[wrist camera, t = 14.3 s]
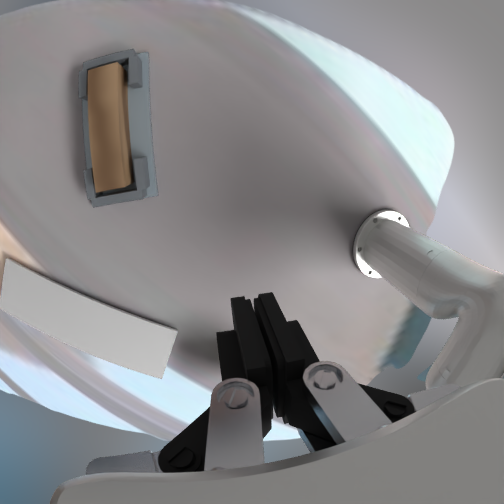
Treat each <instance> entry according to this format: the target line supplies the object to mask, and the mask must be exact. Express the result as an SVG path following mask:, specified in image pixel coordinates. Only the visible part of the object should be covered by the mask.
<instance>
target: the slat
mask: <svg viewBox="0 0 504 504" xmlns="http://www.w3.org/2000/svg"><path fill="white" fill-rule="evenodd" d="M88 123H89V138H90V150H91V160H92V169H93V177H94V184H95V191H96V193H97V192H102V191H107V190H112V189H117V188H123V187H126V186H128V185H130V184H132V183H134V182H135V181H134V173H133V164H132V154H131V143H130V130H129V114H128V81H127V71H126V70H125V69H124V68H123V67H122V66H121V65H120V64H119V63H118V62H116V63H112V64H108V65H105V66H101V67H98V68H94V69H91V70H88Z"/></svg>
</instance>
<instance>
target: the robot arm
mask: <svg viewBox="0 0 504 504" xmlns="http://www.w3.org/2000/svg"><path fill="white" fill-rule="evenodd" d="M353 256H354V260H355V263H356V265H357V267H358V268H359V270H360V271H361V272H363V273H364V274H365V275H367V276H368V277H372V278H380V277H382V278H384V279H385V280H386V281H387V282H389V283H390V284H391V285H392V286H393V287H395V288H396V289H397V290H398V291H400V292H401V293H402V294H403V295H404V296H405V297H407V298H408V299H409V300H410V301H411V302H413V303H414V304H415V305H416V306H417V307H418V308H420V309H421V310H422V311H423V312H424V313H425V314H427V315H428V316H430V317H432V318H435V319H451V318H456V317H459V319H458V322H457V324H456V326H455V328H454V330H453V332H452V334H451V336H450V337H449V339H448V341H447V342H446V344H445V346H444V347H443V349H442V350H441V352H440V354H439V355H438V357H437V358H436V360H435V361H434V363H433V365H432V366H431V368H430V370H429V372H428V374H427V377H426V389H427V390H424V391H420V392H416V393H412V394H409V396H408V397H404V396H402V395H398V394H395V393H391V392H387V391H383V390H380V389H376V388H372V387H369V386H365V385H362V384H358V383H357V382H356V381H355V380H354V379H353V378H352V377H351V375H350V374H349V373H348V372H347V371H346V370H345V369H344V368H343V367H342V366H341V365H339V364H337V363H335V362H330V361H319V359H318V357H317V355H316V353H315V352H314V350H313V348H312V346H311V344H310V342H309V341H308V339H307V337H306V335H305V333H304V331H303V330H302V328H301V326H300V324H299V322H298V321H297V320H294V321H288V322H287V321H286V319H285V317H284V315H283V313H282V311H281V309H280V307H279V305H278V303H277V301H276V299H275V297H274V294H273V293H272V292H271V293H264V294H259V295H258V298H254V309H253V306H252V303H251V300H250V299H247V300H245V297H244V296H243V297H235V298H231V307H232V316H233V324H234V330H231V331H224V332H216V334H217V343H218V352H219V360H220V368H221V376H222V382H220V383H219V384H218V385H216V387H215V388H214V389H213V392H212V395H211V404H210V407H209V408H208V409H207V410H206V411H205V412H204V413H202V414H201V415H200V416H199V417H198V418H197V419H196V420H195V421H194V422H192V423H191V424H190V425H189V426H188V427H187V428H186V429H184V430H183V431H182V432H181V433H180V434H179V435H177V436H176V437H175V438H174V439H173V440H172V441H170V442H169V443H168V444H167V445H166V446H164V448H163V449H162V450H161V451H158V452H153V453H152V452H151V451H150V450H149V451H144V452H138V453H133V454H125V455H118V456H109V457H100V458H96V459H94V460H92V461H91V462H90V463H89V464H88V466H87V468H86V475H85V476H81V477H77V478H74V479H71V480H68V481H66V482H64V483H62V484H61V485H60V486H59V487H58V488H57V489H56V490H55V492H54V494H53V496H52V498H51V500H50V504H504V376H503V378H501V376H502V375H503V373H504V274H503V273H500V272H498V271H495V270H492V269H490V268H488V267H485V266H483V265H481V264H479V263H477V262H475V261H473V260H471V259H469V258H467V257H465V256H463V255H461V254H460V253H458V252H456V251H454V250H452V249H450V248H448V247H446V246H445V245H443V244H441V243H439V242H437V241H435V240H433V239H431V238H429V237H427V236H425V235H424V234H421V233H419V232H417V231H415V230H413V229H411V228H409V225H408V223H407V221H406V219H405V218H404V217H403V216H402V215H401V214H400V213H398V212H396V211H393V210H381V211H377V212H376V213H374V214H372V215H371V216H370V217H368V218H367V219H366V220H365V221H364V223H363V224H362V225H361V227H360V228H359V230H358V232H357V235H356V237H355V241H354V247H353ZM273 407H274V410H275V413H276V416H277V418H278V417H282V418H283V421H284V424H286V423H289V425H291V426H294V427H296V428H298V429H297V430H298V432H299V435H300V436H301V438H302V440H303V441H304V443H305V445H306V446H307V448H308V450H309V451H310V453H309V454H305V455H302V456H298V457H294V458H289V459H285V460H281V461H276V462H271V463H265V464H264V448H263V438H264V437H265V436H266V435H267V433H268V432H269V431H270V430H271V419H273Z"/></svg>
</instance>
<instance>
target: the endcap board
mask: <svg viewBox="0 0 504 504" xmlns="http://www.w3.org/2000/svg"><path fill="white" fill-rule="evenodd" d="M116 62H118V63H119V64H120V65H121V66H122V67H123V68H124V69H125V70H126V71H127V81H128V114H129V130H130V143H131V154H132V164H133V173H134V181H135V182H134V183H132V184H130V185H128V186H126V187H123V188H117V189H112V190H107V191H102V192H97V193H96V191H95V184H94V177H93V169H92V160H91V150H90V138H89V123H88V70H91V69H94V68H98V67H101V66H105V65H108V64H112V63H116ZM79 98H81V99H82V114H83V133H84V146H85V157H86V166H87V169H86V170H83V171H84V179H85V186H86V192H87V198H88V199H91V201H92V206H93V208H94V207H99V206H105V205H110V204H116V203H122V202H127V201H134V200H140V199H143V198H146V197H153V196H158V189H157V181H156V172H155V162H154V152H153V141H152V128H151V112H150V90H149V53H148V52H144V53H139V54H137V53H136V52H135V50H134V49H130V50H125V51H121V52H117V53H113V54H110V55H106V56H103V57H99V58H96V59H93V60H89V61H86V62H83V70H82V71H79Z"/></svg>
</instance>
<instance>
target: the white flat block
mask: <svg viewBox="0 0 504 504" xmlns="http://www.w3.org/2000/svg"><path fill="white" fill-rule="evenodd" d="M0 309H1V310H3V311H4V312H6V313H8V314H9V315H11V316H13V317H15V318H16V319H18V320H20V321H22V322H23V323H25V324H27V325H29V326H31V327H33V328H34V329H36V330H38V331H40V332H42V333H44V334H46V335H48V336H50V337H52V338H54V339H56V340H58V341H61V342H63V343H65V344H67V345H69V346H72V347H74V348H76V349H78V350H81V351H83V352H85V353H88V354H90V355H93V356H95V357H98V358H100V359H103V360H106V361H108V362H111V363H114V364H116V365H119V366H122V367H125V368H128V369H131V370H134V371H137V372H140V373H143V374H146V375H150V376H153V377H156V378H160V379H162V377H163V374H164V371H165V368H166V365H167V362H168V359H169V356H170V353H171V350H172V347H173V344H174V341H175V338H176V335H177V333H178V331H177V329H174V328H171V327H168V326H165V325H162V324H159V323H156V322H153V321H150V320H147V319H145V318H142V317H139V316H136V315H134V314H131V313H128V312H126V311H123V310H120V309H118V308H115V307H113V306H110V305H108V304H105V303H103V302H100V301H98V300H95V299H93V298H91V297H88V296H86V295H84V294H81V293H79V292H77V291H75V290H72V289H70V288H68V287H66V286H64V285H61V284H59V283H57V282H55V281H53V280H51V279H49V278H47V277H45V276H43V275H41V274H39V273H37V272H35V271H33V270H31V269H29V268H27V267H25V266H23V265H21V264H20V263H18V262H16V261H14V260H12V259H10V258H6V261H5V267H4V273H3V281H2V289H1V298H0Z"/></svg>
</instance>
